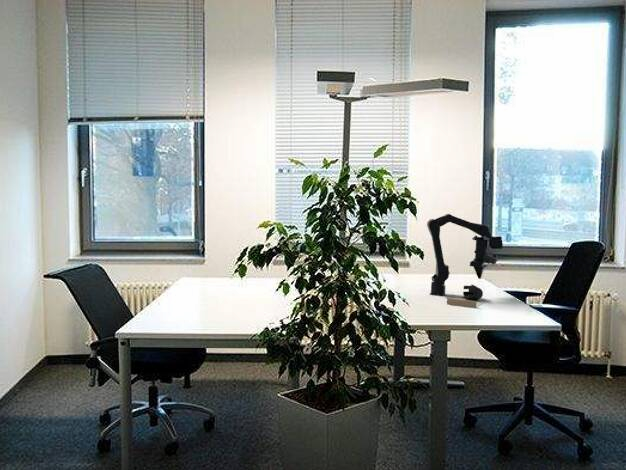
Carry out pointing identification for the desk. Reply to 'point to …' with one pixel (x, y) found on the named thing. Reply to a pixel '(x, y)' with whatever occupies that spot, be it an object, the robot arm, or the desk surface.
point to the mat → (463, 303)
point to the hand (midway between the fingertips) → (479, 278)
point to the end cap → (472, 293)
